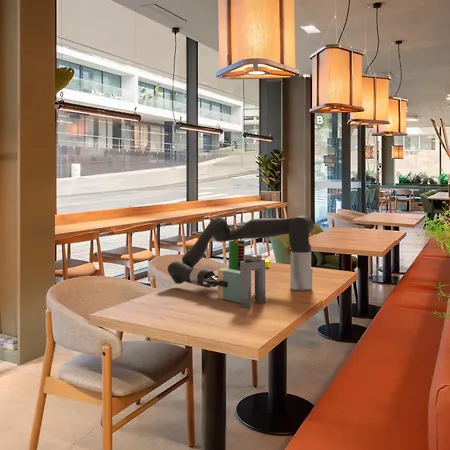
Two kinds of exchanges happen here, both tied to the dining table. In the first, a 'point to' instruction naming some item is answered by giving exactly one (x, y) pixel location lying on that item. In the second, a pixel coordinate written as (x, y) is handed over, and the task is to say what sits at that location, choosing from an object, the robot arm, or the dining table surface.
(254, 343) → the dining table surface
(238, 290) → the sage green rectangular prism
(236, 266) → the motor
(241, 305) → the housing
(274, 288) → the dining table surface
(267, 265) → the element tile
